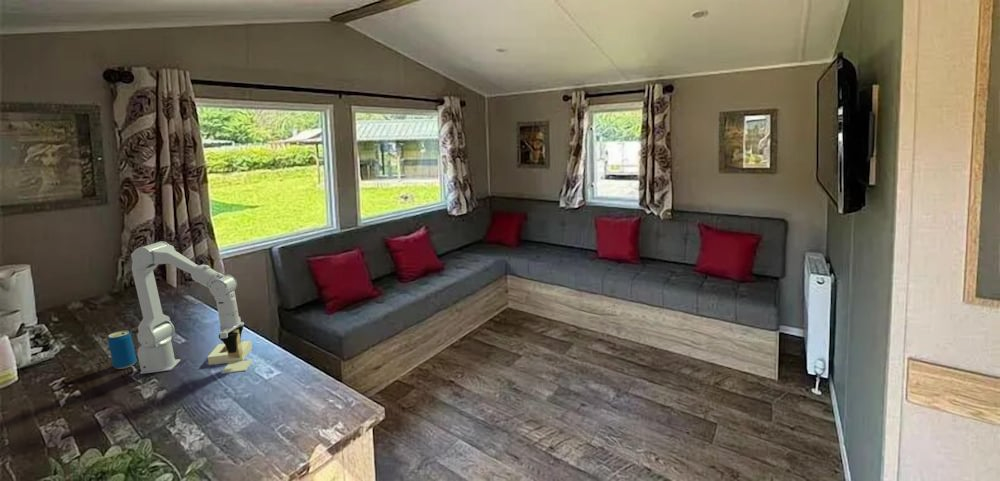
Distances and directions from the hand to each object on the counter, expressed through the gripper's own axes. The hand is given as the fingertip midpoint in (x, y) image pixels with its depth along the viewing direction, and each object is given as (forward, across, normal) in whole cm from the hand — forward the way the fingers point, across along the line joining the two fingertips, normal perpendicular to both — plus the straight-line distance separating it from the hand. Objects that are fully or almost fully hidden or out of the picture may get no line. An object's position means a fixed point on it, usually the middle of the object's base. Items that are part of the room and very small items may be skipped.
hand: (234, 349), depth 164 cm
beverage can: (+7, +12, +40) cm, 42 cm away
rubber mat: (+6, 0, 0) cm, 6 cm away
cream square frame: (+6, +10, +5) cm, 13 cm away
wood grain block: (+2, 0, 0) cm, 2 cm away
